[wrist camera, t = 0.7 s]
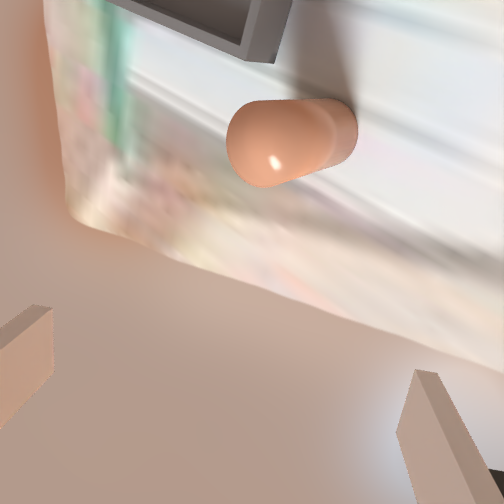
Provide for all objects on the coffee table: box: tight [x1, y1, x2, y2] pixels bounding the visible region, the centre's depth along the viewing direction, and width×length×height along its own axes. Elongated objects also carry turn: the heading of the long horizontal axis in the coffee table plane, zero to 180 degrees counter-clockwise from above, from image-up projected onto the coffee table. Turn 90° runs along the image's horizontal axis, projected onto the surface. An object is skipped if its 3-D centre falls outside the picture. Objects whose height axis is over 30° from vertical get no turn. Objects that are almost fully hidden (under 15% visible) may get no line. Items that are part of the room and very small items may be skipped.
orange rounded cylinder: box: [226, 98, 358, 188], centre depth 37 cm, size 6×6×12 cm
